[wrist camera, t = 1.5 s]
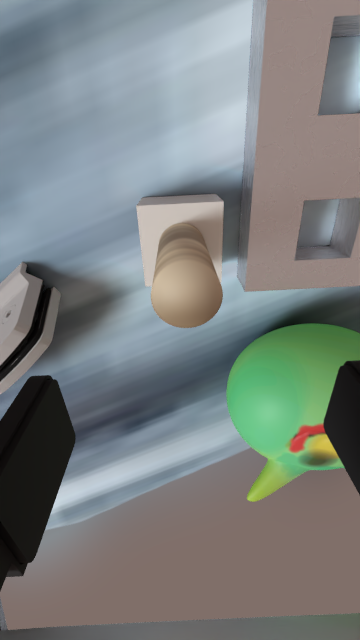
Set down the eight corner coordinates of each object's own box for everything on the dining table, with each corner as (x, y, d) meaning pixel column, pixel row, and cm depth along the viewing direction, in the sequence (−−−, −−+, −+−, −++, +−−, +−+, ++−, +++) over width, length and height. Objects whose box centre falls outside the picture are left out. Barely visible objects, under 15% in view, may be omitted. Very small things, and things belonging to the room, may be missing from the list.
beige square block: (142, 197, 27) (136, 205, 23) (215, 193, 27) (223, 201, 23) (149, 267, 31) (145, 286, 26) (214, 264, 31) (221, 282, 26)
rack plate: (253, -14, 20) (271, -51, 17) (450, -25, 20) (511, -64, 17) (236, 276, 31) (245, 292, 28) (364, 269, 31) (389, 285, 28)
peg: (156, 224, 24) (147, 265, 15) (204, 221, 24) (223, 260, 15) (160, 270, 26) (154, 329, 17) (205, 268, 26) (221, 326, 17)
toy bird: (375, 299, 33) (501, 389, 21) (338, 403, 42) (410, 512, 29) (222, 303, 33) (252, 397, 20) (215, 407, 42) (234, 518, 29)
